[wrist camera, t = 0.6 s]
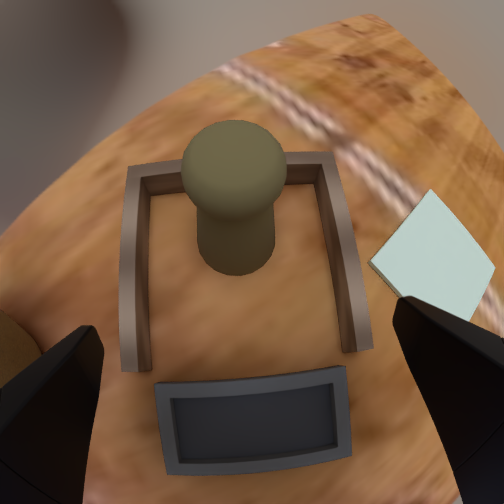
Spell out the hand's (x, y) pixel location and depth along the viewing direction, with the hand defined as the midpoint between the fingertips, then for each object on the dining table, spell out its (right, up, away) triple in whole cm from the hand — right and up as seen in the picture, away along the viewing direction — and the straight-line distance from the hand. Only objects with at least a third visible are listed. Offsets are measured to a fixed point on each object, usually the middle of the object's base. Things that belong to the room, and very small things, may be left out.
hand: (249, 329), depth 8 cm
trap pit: (0, -10, +11) cm, 15 cm away
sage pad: (+17, +1, +15) cm, 23 cm away
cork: (-1, +3, +15) cm, 16 cm away
